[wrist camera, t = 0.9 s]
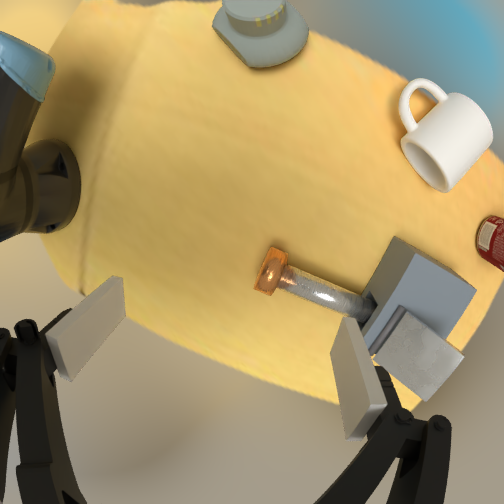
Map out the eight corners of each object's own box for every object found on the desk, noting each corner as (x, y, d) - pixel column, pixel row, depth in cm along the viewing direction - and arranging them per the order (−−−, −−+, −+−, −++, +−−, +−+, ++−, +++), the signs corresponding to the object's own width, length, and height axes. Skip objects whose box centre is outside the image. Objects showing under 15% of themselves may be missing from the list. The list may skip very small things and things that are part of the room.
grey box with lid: (346, 318, 37) (357, 351, 30) (393, 235, 32) (418, 255, 25) (407, 341, 37) (424, 372, 30) (452, 270, 33) (479, 292, 26)
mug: (468, 145, 27) (503, 146, 19) (427, 189, 30) (459, 198, 22) (415, 73, 25) (445, 56, 18) (369, 114, 28) (392, 102, 21)
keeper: (374, 357, 30) (372, 359, 29) (407, 310, 27) (406, 312, 27) (426, 398, 24) (425, 401, 24) (464, 354, 22) (464, 356, 21)
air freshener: (316, 51, 26) (327, 14, 17) (261, 84, 29) (252, 55, 19) (262, -3, 24) (254, -45, 15) (210, 28, 26) (185, -8, 17)
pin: (255, 277, 35) (251, 296, 30) (272, 241, 34) (270, 255, 29) (363, 321, 36) (372, 343, 31) (382, 289, 34) (395, 309, 29)
